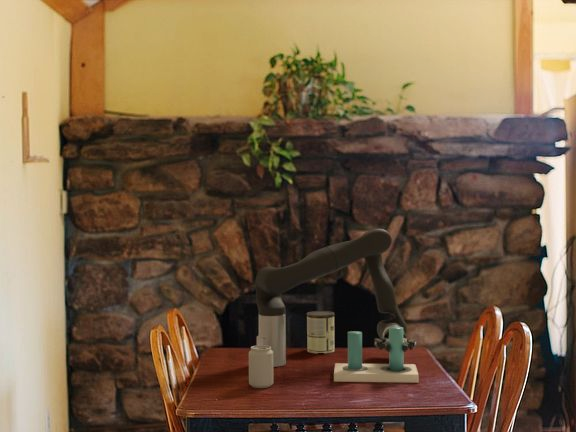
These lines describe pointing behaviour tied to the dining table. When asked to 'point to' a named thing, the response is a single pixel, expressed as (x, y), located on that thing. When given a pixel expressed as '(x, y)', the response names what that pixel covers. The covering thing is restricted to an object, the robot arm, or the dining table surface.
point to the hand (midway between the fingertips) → (396, 348)
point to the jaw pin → (396, 349)
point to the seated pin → (354, 350)
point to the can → (261, 366)
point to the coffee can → (320, 332)
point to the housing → (375, 373)
